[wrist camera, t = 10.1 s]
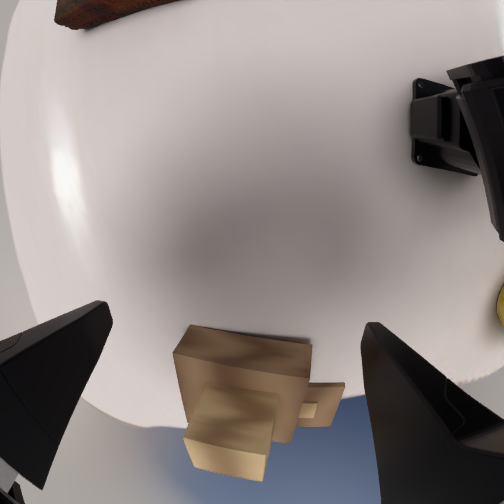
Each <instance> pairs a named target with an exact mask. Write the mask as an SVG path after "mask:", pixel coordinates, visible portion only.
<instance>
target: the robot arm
mask: <svg viewBox="0 0 504 504" xmlns="http://www.w3.org/2000/svg"><path fill="white" fill-rule="evenodd" d="M446 72H447V74H448V76H449V78H450V80H452V81H453V83H454V85H455V88H456V89H454V88H451V87H448V86H445V85H442V84H439V83H436V82H432V81H429V80H425V79H422V78H418V79H415V80H414V82H413V101H412V102H411V135H412V137H413V145H412V160H413V162H414V163H415V164H418V165H423V166H428V167H434V168H439V169H444V170H449V171H454V172H458V173H463V174H467V175H472V176H477V175H478V174H480V175H482V178H483V182H484V186H485V191H486V196H487V201H488V206H489V211H490V217H491V223H492V224H493V226H494V228H495V229H496V231H497V232H498V233H499V238H500V240H501V241H503V242H504V56H499V57H495V58H491V59H487V60H483V61H479V62H475V63H471V64H468V65H464V66H461V67H458V68H454V69H451V70H448V71H446ZM419 82H420V83H421V84H422V88H421V87H419V85H418V83H419ZM418 155H420V160H419V161H418V160H417V156H418ZM112 325H113V319H112V316H111V313H110V309H109V306H108V304H107V302H105V301H99V300H97V301H94V302H92V303H89V304H87V305H85V306H82V307H80V308H77V309H75V310H73V311H70V312H68V313H65V314H63V315H61V316H58V317H56V318H54V319H51V320H49V321H47V322H44V323H42V324H40V325H37V326H35V327H33V328H31V329H28V330H26V331H24V332H21V333H19V334H17V335H14V336H12V337H9V338H7V339H4V340H2V341H0V504H25V503H24V500H23V496H22V492H21V489H20V485H19V484H18V483H17V482H16V481H15V479H16V477H17V475H18V474H20V475H21V476H22V477H24V478H25V479H26V480H28V481H29V482H31V483H32V484H33V485H35V486H36V487H38V488H39V489H41V490H42V489H43V487H44V485H45V482H46V479H47V476H48V473H49V471H50V468H51V465H52V462H53V460H54V457H55V455H56V452H57V449H58V446H59V444H60V442H61V439H62V437H63V434H64V432H65V430H66V427H67V425H68V423H69V420H70V418H71V416H72V414H73V411H74V409H75V407H76V405H77V402H78V401H79V398H80V396H81V394H82V392H83V390H84V388H85V386H86V384H87V382H88V380H89V378H90V376H91V374H92V372H93V370H94V368H95V366H96V364H97V362H98V360H99V358H100V355H101V353H102V350H103V348H104V345H105V343H106V340H107V338H108V335H109V333H110V331H111V328H112ZM361 357H362V368H363V380H364V389H365V394H366V399H367V405H368V409H369V415H370V421H371V427H372V433H373V439H374V445H375V453H376V460H377V467H378V474H379V484H380V493H381V498H382V499H381V504H504V419H502V418H501V417H500V416H498V415H497V414H495V413H494V412H492V411H491V410H489V409H488V408H487V407H485V406H484V405H482V404H481V403H479V402H478V401H477V400H475V399H474V398H472V397H471V396H470V395H468V394H467V393H466V392H464V391H463V390H462V389H461V388H459V387H458V386H457V385H456V384H454V383H453V382H452V381H451V380H450V379H448V378H447V377H446V376H445V375H444V374H442V373H441V372H440V371H439V370H438V369H436V368H435V367H434V366H433V365H431V364H430V363H429V362H428V361H427V360H425V359H424V358H423V357H422V356H421V355H419V354H418V353H417V352H416V351H414V350H413V349H412V348H411V347H409V346H408V345H407V344H406V343H405V342H403V341H402V340H401V339H400V338H398V337H397V336H396V335H395V334H393V333H392V332H391V331H390V330H388V329H387V328H386V327H385V326H383V325H382V324H381V323H379V322H368V323H367V324H366V326H365V330H364V333H363V337H362V340H361Z"/></svg>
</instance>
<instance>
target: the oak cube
mask: <svg viewBox="0 0 504 504" xmlns="http://www.w3.org/2000/svg"><path fill="white" fill-rule="evenodd" d="M278 396H279V394H277V393H270V392H263V391H256V390H250V389H244V388H238V387H232V386H227V385H222V384H217V383H212V382H207V385H206V387H205V389H204V391H203V393H202V396H201V398H200V400H199V402H198V405H197V407H196V409H195V411H194V413H193V416H192V418H191V420H190V422H189V424H188V427H187V429H186V431H185V433H184V435H183V439H184V442H185V445H186V447H187V450H188V452H189V455H190V457H191V460H192V462H193V464H194V467H197V468H200V469H204V470H208V471H212V472H216V473H220V474H224V475H230V476H234V477H240V478H244V479H251V480H256V481H263V477H264V472H265V468H266V464H267V460H268V455H269V451H270V445H271V441H272V437H273V432H274V426H275V419H276V411H277V404H278Z"/></svg>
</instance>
